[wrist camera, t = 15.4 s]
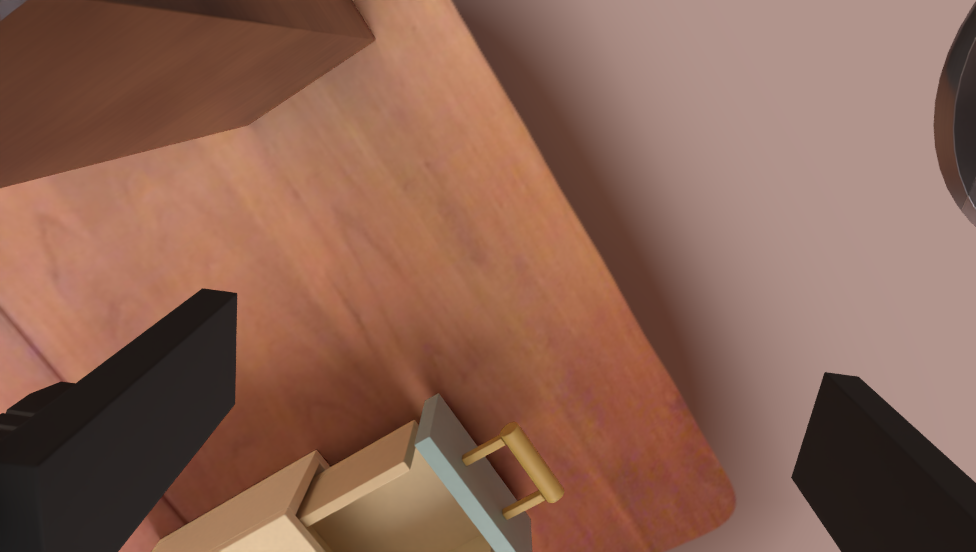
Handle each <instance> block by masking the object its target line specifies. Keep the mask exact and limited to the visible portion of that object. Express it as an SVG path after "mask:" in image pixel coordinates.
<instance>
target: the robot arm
mask: <svg viewBox="0 0 976 552" xmlns="http://www.w3.org/2000/svg"><path fill="white" fill-rule="evenodd" d="M236 327H237V293H233V292H225V291H218V290H210V289H203V288H202V289H201V290H200V291H198V292H197V293H196V294H194V295H193V296H192V297H190V298H189V299H188V300H186V301H185V302H184V303H182V304H181V305H180V306H178V307H177V308H176V309H174V310H173V311H172V312H170V313H169V314H168V315H166V316H165V317H164V318H162V319H161V320H160V321H158V322H157V323H156V324H154V325H153V326H152V327H150V328H149V329H148V330H146V331H145V332H144V333H142V334H141V335H140V336H138V337H137V338H136V339H134V340H133V341H132V342H130V343H129V344H128V345H126V346H125V347H124V348H122V349H121V350H120V351H118V352H117V353H116V354H114V355H113V356H112V357H110V358H109V359H108V360H106V361H105V362H104V363H102V364H101V365H100V366H98V367H97V368H96V369H94V370H93V371H92V372H90V373H89V374H88V375H86V376H85V377H84V378H82V379H81V380H80V381H78V382H77V383H76V384H75V383H68V382H59V383H56V384H54V385H51V386H49V387H46V388H44V389H41V390H38V391H36V392H33V393H31V394H29V395H27V396H26V397H25V398H23V399H22V400H20V401H19V402H17V403H16V404H15V405H13V406H12V407H10V408H9V409H7V412H6V414H4V413H2V414H0V552H118V551H119V550H120V549H121V547H122V546H123V545H124V544H125V542H126V541H127V540H128V538H129V537H130V536H131V535H132V533H133V532H134V531H135V530H136V528H137V527H138V526H139V525H140V523H141V522H142V521H143V520H144V518H145V517H146V516H147V515H148V513H149V512H150V511H151V509H152V508H153V507H154V506H155V504H156V503H157V502H158V501H159V499H160V498H161V497H162V496H163V494H164V493H165V492H166V491H167V489H168V488H169V487H170V485H171V484H172V483H173V482H174V480H175V479H176V478H177V477H178V475H179V474H180V473H181V472H182V470H183V469H184V468H185V467H186V465H187V464H188V463H189V461H190V460H191V459H192V458H193V456H194V455H195V454H196V453H197V451H198V450H199V449H200V448H201V446H202V445H203V444H204V443H205V441H206V440H207V439H208V438H209V436H210V435H211V434H212V432H213V431H214V430H215V429H216V427H217V426H218V425H219V424H220V422H221V421H222V420H223V419H224V417H225V416H226V415H227V414H228V412H229V411H230V410H231V408H232V407H233V406H234V405H235V378H236ZM791 478H792V479H793V481H794V482H795V484H796V485H797V487H798V488H799V490H800V491H801V493H802V494H803V496H804V497H805V499H806V500H807V502H808V503H809V504H810V506H811V508H812V509H813V511H814V512H815V513H816V515H817V516H818V518H819V519H820V521H821V522H822V524H823V525H824V527H825V528H826V530H827V531H828V533H829V534H830V536H831V537H832V538H833V540H834V541H835V543H836V544H837V546H838V547H839V549H840V550H841V552H976V483H975V482H974V481H973V480H972V479H971V478H970V477H969V476H967V475H966V474H965V473H964V472H963V471H962V470H961V469H960V468H959V467H958V466H956V465H955V464H954V463H953V462H952V461H951V460H950V459H949V458H948V457H947V456H945V455H944V454H943V453H942V452H941V451H940V450H939V449H938V448H937V447H935V446H934V445H933V444H932V443H931V442H930V441H929V440H928V439H927V438H926V437H924V436H923V435H922V434H921V433H920V432H919V431H918V430H917V429H916V428H914V427H913V426H912V425H911V424H910V423H909V422H908V421H907V420H906V419H905V418H904V417H902V416H901V415H900V414H899V413H898V412H897V411H896V410H895V409H894V408H892V407H891V406H890V405H889V404H888V403H887V402H886V401H885V400H884V399H883V398H881V397H880V396H879V395H878V394H877V393H876V392H875V391H874V390H873V389H871V388H870V387H869V386H868V385H867V384H866V383H865V382H864V381H863V380H861V379H860V378H859V377H857V376H849V375H841V374H834V373H827V372H825V373H824V376H823V379H822V383H821V386H820V389H819V392H818V395H817V398H816V401H815V404H814V408H813V411H812V414H811V417H810V421H809V423H808V427H807V430H806V433H805V436H804V439H803V442H802V446H801V449H800V452H799V455H798V458H797V461H796V465H795V468H794V471H793V474H792V477H791Z"/></svg>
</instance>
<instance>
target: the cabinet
mask: <svg viewBox="0 0 976 552" xmlns="http://www.w3.org/2000/svg"><path fill="white" fill-rule="evenodd" d="M328 468H330V466H329V464H328V463H327V462H326V461H325V460H324V458H323V457H322V456H321V455H320V453H319V452H318V451H317V450H315V451H313V452H311V453H309V454H308V455H306V456H304V457H303V458H301V459H299V460H297V461H296V462H294V463H292V464H290V465H289V466H287V467H285V468H284V469H282V470H280V471H278V472H277V473H275V474H273V475H271V476H270V477H268V478H266V479H264V480H263V481H261V482H259V483H258V484H256V485H254V486H252V487H251V488H249V489H247V490H245V491H244V492H242V493H240V494H239V495H237V496H235V497H233V498H232V499H230V500H228V501H226V502H225V503H223V504H221V505H220V506H218V507H216V508H214V509H213V510H211V511H209V512H207V513H206V514H204V515H202V516H201V517H199V518H197V519H195V520H194V521H192V522H190V523H188V524H187V525H185V526H183V527H181V528H180V529H178V530H176V531H175V532H173V533H171V534H169V535H168V536H166V537H164V538H162V539H161V540H160V541H159V542H158V543H157V545H156V546H155V547H154V549H153V550H152V552H326V551H325V550H324V549H323V548H322V547H321V545H320V544H319V543H318V542H317V541H316V540H315V538H314V537H313V536H312V535H311V534H310V532H309V531H308V530H307V529H306V528H305V527H304V525H303V524H302V523H301V522H300V521H299V519H298V518H297V517H296V516H295V514H296V512H297V510H298V508H299V506H300V504H301V502H302V500H303V497H304V495H305V493H306V491H307V489H308V487H309V485H310V483H311V480H312V478H313V477H314V476H316V475H318V474H319V473H321V472H323V471H325V470H326V469H328Z"/></svg>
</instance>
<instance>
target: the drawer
mask: <svg viewBox="0 0 976 552" xmlns="http://www.w3.org/2000/svg"><path fill="white" fill-rule="evenodd" d="M506 444H507V446H508V447H509V449H510V450H511V451H512V453H513V454H514V456H515V457H516V458H517V460H518V461H519V463H520V464H521V465H522V467H523V468H524V470H525V471H526V472H527V474H528V475H529V477H530V478H531V479H532V481H533V482H534V484H535V485H536V486H537V488H538V489H539V490H538V491H536V492H534V493H532V494H530V495H529V496H527V497H525V498H523V499H521V500H519V501H517V500H516V498H515V497H514V496H513V494H512V493H511V492H510V490H509V489H508V487H507V486H506V485H505V483H504V482H503V481H502V479H501V478H500V476H499V475H498V474H497V472H496V471H495V470H494V468H493V467H492V466H491V464H490V463H489V461H488V460H487V459H486V457H485V456H486V455H488V454H490V453H492V452H494V451H496V450H497V449H499V448H501V447H503V446H505V445H506ZM563 494H564V488H563V487H562V485H561V484H560V483H559V481H558V480H557V478H556V477H555V476H554V474H553V473H552V471H551V470H550V468H549V467H548V466H547V464H546V463H545V461H544V460H543V458H542V457H541V456H540V454H539V453H538V451H537V450H536V449H535V447H534V446H533V444H532V443H531V441H530V440H529V439H528V437H527V436H526V434H525V433H524V431H523V430H522V429H521V427H520V426H519V424H518V423H517V422H511V423H509V424H507V425H506V426H505V427H503V429H502V430H501V432H500V435H498V436H496V437H495V438H493V439H491V440H489V441H487V442H485V443H484V444H482V445H480V446H477V445H476V444H475V442H474V441H473V440H472V438H471V437H470V435H469V434H468V433H467V431H466V430H465V429H464V427H463V426H462V424H461V423H460V422H459V420H458V419H457V418H456V416H455V415H454V413H453V412H452V411H451V409H450V408H449V407H448V405H447V404H446V403H445V401H444V400H443V398H442V397H441V396H440V394H439V393H438V394H436V395H434V396H432V397H431V398H429V399H427V400H425V403H424V407H423V411H422V415H421V419H420V423H419V425H418V423H417V422H416V421H415V420H413V421H411V422H409V423H407V424H405V425H404V426H402V427H400V428H398V429H397V430H395V431H393V432H391V433H390V434H388V435H386V436H384V437H383V438H381V439H379V440H377V441H376V442H374V443H372V444H370V445H369V446H367V447H365V448H363V449H362V450H360V451H358V452H356V453H355V454H353V455H351V456H349V457H348V458H346V459H344V460H342V461H340V462H339V463H337V464H335V465H333V466H332V467H330V468H328V469H326V470H325V471H323V472H321V473H319V474H318V475H316V476H314V477H313V478H312V480H311V483H310V485H309V487H308V489H307V491H306V493H305V495H304V497H303V500H302V502H301V504H300V506H299V508H298V510H297V512H296V514H295V516H296V517H297V518H298V519H299V521H300V522H301V523H302V524H303V525H304V527H305V528H306V529H307V530H308V531H309V532H310V534H311V535H312V536H313V537H314V538H315V540H316V541H317V542H318V543H319V544H320V545H321V547H322V548H323V549H324V550H325V551H326V552H532V537H531V519H530V518H529V516H528V515H527V513H526V512H525V510H527V509H529V508H531V507H533V506H535V505H537V504H539V503H541V502H543V501H545V499H546V500H547V502H549V503H553V502H556V501H558V500H559V499H560V498H561V497H562V496H563Z"/></svg>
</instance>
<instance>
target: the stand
mask: <svg viewBox="0 0 976 552" xmlns="http://www.w3.org/2000/svg"><path fill="white" fill-rule="evenodd" d="M374 41H375V38H374V36H373V34H372V33H371V31H370V29H369V28H368V26H367V25H366V23H365V21H364V20H363V18H362V17H361V15H360V13H359V12H358V10H357V8H356V7H355V5H354V4H353V2H352V0H0V188H3V187H7V186H11V185H14V184H18V183H22V182H26V181H30V180H34V179H38V178H42V177H46V176H50V175H54V174H58V173H62V172H66V171H70V170H74V169H78V168H82V167H85V166H89V165H93V164H97V163H101V162H105V161H109V160H113V159H117V158H121V157H125V156H129V155H133V154H137V153H141V152H145V151H149V150H152V149H156V148H160V147H164V146H168V145H172V144H176V143H180V142H184V141H188V140H192V139H196V138H200V137H204V136H208V135H212V134H216V133H219V132H223V131H227V130H231V129H235V128H239V127H243V126H247V125H249V124H251V123H252V122H254V121H255V120H257V119H258V118H260V117H261V116H263V115H264V114H266V113H267V112H269V111H270V110H272V109H273V108H275V107H276V106H278V105H279V104H281V103H282V102H284V101H285V100H287V99H288V98H290V97H291V96H293V95H294V94H296V93H297V92H299V91H300V90H302V89H303V88H305V87H306V86H308V85H309V84H311V83H312V82H314V81H315V80H317V79H318V78H320V77H321V76H323V75H324V74H326V73H327V72H329V71H330V70H332V69H333V68H335V67H336V66H338V65H339V64H341V63H342V62H344V61H345V60H347V59H348V58H350V57H351V56H353V55H354V54H356V53H357V52H359V51H360V50H362V49H363V48H365V47H366V46H368V45H369V44H371V43H372V42H374Z"/></svg>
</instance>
